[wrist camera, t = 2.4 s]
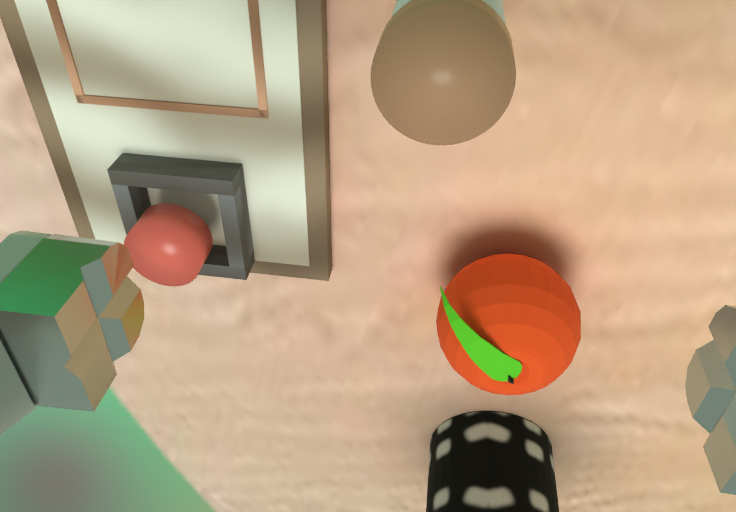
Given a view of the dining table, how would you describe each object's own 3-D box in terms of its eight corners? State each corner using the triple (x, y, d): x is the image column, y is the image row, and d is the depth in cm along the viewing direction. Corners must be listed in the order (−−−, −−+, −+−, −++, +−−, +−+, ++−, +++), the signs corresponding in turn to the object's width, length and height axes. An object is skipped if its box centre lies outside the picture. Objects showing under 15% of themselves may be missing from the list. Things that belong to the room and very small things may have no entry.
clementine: (398, 265, 32) (383, 365, 27) (493, 188, 29) (498, 286, 23) (500, 340, 35) (505, 445, 30) (599, 278, 31) (627, 386, 26)
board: (-53, -184, 22) (-107, -179, 20) (321, -170, 21) (305, -164, 19) (94, 243, 35) (70, 274, 32) (332, 269, 33) (322, 302, 31)
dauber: (412, -90, 22) (372, 1, 13) (506, -85, 21) (528, 11, 13) (406, 7, 24) (369, 139, 15) (491, 12, 24) (502, 150, 15)
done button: (132, 199, 28) (115, 221, 27) (206, 206, 28) (192, 229, 26) (149, 258, 30) (133, 281, 29) (217, 266, 30) (205, 290, 29)
